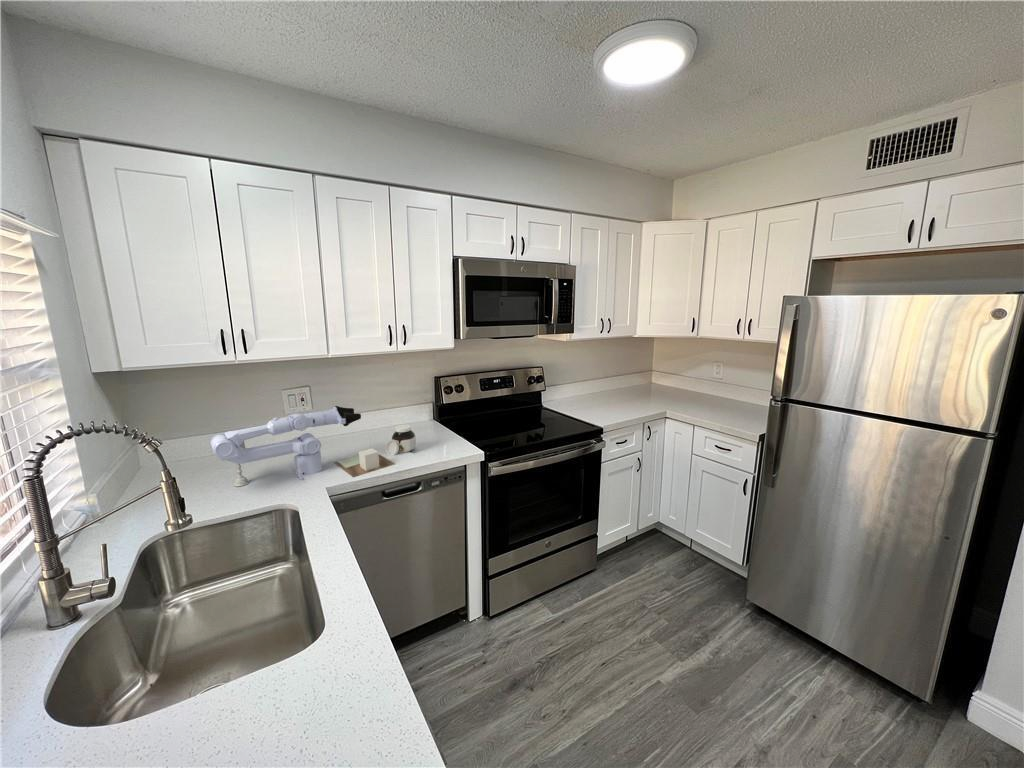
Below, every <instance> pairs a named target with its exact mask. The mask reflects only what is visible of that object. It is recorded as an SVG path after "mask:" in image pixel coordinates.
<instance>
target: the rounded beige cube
mask: <svg viewBox="0 0 1024 768" xmlns="http://www.w3.org/2000/svg"><path fill="white" fill-rule="evenodd" d="M378 454H379V451H377V449H374V448H373V447H371V448H368V449H364V450H361V451H358V456H359V459H360V467H361V468H363V469H364V470H366V471H367V470H371V469H374V468H377V467H379V456H378Z"/></svg>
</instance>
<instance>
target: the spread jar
mask: <svg viewBox="0 0 1024 768" xmlns="http://www.w3.org/2000/svg"><path fill="white" fill-rule="evenodd" d="M394 430H395V431H394V432H393V434H392V436H391V440H389V441H387V443H386V445H385V453H386V454H392V455H393V456H396V455H397V454H398V453H400V454H401V453H412V452H414V450H415V448H416V445H417V443H416V440H417V439H416V435H415V432H414V431H413V430H412V427H411V424H410V425H409V424H399V425H397V426H395V427H394Z"/></svg>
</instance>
